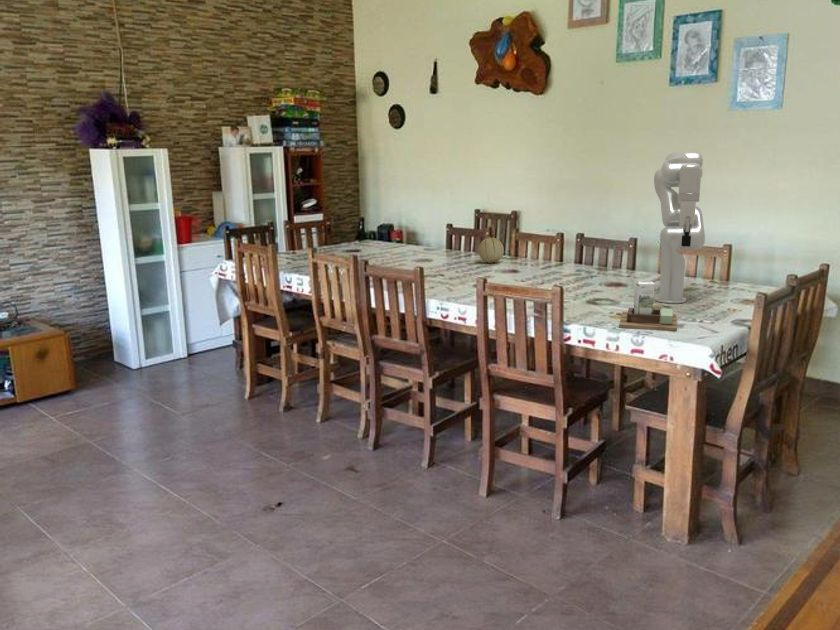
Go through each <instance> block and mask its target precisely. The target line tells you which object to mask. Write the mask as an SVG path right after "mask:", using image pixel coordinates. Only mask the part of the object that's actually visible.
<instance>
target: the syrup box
mask: <svg viewBox="0 0 840 630" xmlns="http://www.w3.org/2000/svg"><path fill="white" fill-rule="evenodd" d="M634 285H635V286H634V297H633V298H634V301H633V308H634V314H649V315H653V309H654V300H655V287H656V283H654V282H653V281H651V280H635V283H634Z"/></svg>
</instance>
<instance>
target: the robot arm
mask: <svg viewBox="0 0 840 630" xmlns="http://www.w3.org/2000/svg"><path fill="white" fill-rule="evenodd" d="M703 161H704V160H703V156H702V154H701V153H700V152H698V151H694V150H693V151H673V152H671V153H670V154H668V155H667V156H666V158H665V160H664V161H663V163H662V165H661V168H659V169H657V170H655V172H654V175H653V184H654V185H653V186H654V189H655V192H656V195H657V198H658V200H659V202H660V211H661V220H662V224H663V226H664V227H663V229H662V230H661V231H660V234H659V240H660V250H661V251H660V253H661V255H660V273H659V274H660V277H659V278H660V279H659V291H658V293H659V294H658V295H657V296H654V300H655V301H656V302H659V303H662V304H663V303H664V304H684V303H686V302H687V300H688V299H687V297H685V296H684V284H685V283H684V282H685V269H686V268H685V267H686V260H685V257H684V255H683V254H682V253H681V252H680V250H698V249H702V248H703V246H704V245H705V241H706V235H705V226H704V218H703V213H702V210H701V208H700V207H699V206H697V205H696V203H700V197H701V195H700V194H701V183H702V182H701V179H702V177H703V163H704V162H703ZM673 188H678V192H677V191H675V190H674V189H673Z"/></svg>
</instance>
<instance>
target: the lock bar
mask: <svg viewBox="0 0 840 630" xmlns="http://www.w3.org/2000/svg"><path fill="white" fill-rule="evenodd" d="M673 312H674V310H673V308H660V313H661V324H672V318H673V314H674V313H673Z"/></svg>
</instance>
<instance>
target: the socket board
mask: <svg viewBox="0 0 840 630" xmlns="http://www.w3.org/2000/svg"><path fill="white" fill-rule="evenodd" d="M619 320H620V321H619V323H618V328H619V329H633V330H634V329H635V330H649V331H651V330H652V331H668V332H669V331H670V332H677V329H678V327H677V326H678V325H677V322H678V321H677V313H673V318H672V324H661V308H660V309H659V308H653V315H649V314H634V307H628V310H627V311H622V312H621V317H620V319H619Z"/></svg>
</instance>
